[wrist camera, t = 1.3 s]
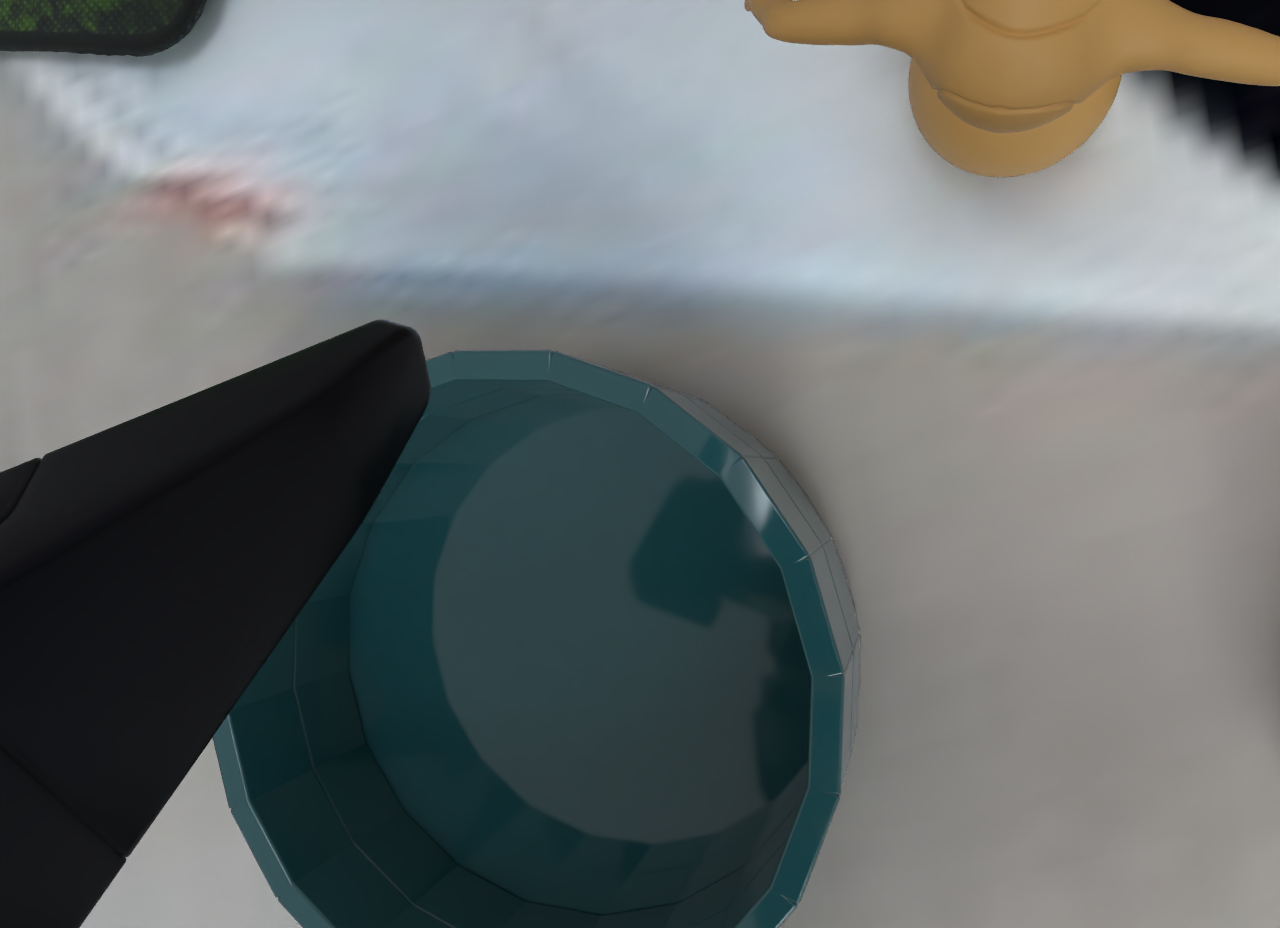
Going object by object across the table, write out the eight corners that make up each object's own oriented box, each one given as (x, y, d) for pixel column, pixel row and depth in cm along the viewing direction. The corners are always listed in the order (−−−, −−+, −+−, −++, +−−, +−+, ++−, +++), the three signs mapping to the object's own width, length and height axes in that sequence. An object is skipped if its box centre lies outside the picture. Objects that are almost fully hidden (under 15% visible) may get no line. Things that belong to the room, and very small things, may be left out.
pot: (984, 756, 21) (1003, 843, 16) (511, 1018, 24) (408, 1155, 19) (649, 262, 23) (577, 208, 18) (259, 563, 26) (111, 585, 21)
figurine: (1236, 35, 19) (1696, -599, 8) (1165, 322, 20) (1506, 121, 8) (836, 4, 22) (736, -518, 10) (780, 261, 22) (623, 38, 11)
